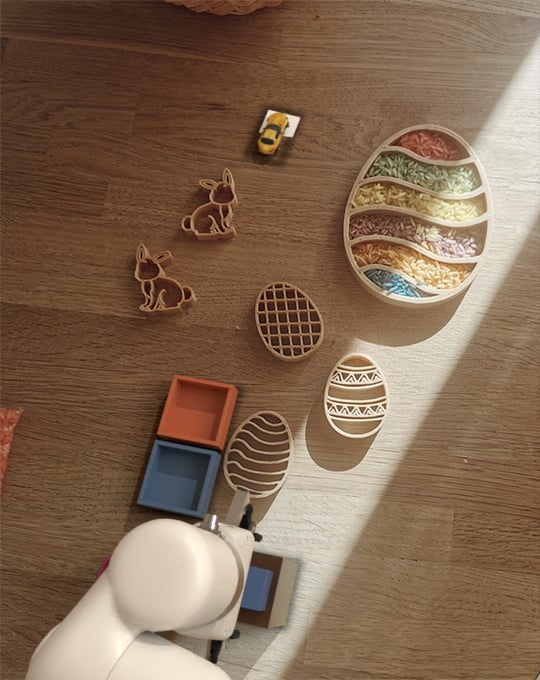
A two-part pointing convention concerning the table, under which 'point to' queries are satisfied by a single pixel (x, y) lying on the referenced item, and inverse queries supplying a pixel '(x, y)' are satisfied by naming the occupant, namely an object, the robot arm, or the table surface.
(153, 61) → the table surface
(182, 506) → the slate bin
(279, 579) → the stand
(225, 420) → the terracotta bin
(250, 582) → the blue cube
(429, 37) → the table surface
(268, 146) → the toy car
